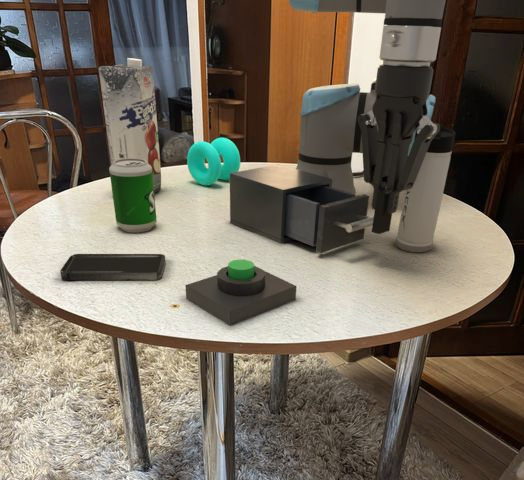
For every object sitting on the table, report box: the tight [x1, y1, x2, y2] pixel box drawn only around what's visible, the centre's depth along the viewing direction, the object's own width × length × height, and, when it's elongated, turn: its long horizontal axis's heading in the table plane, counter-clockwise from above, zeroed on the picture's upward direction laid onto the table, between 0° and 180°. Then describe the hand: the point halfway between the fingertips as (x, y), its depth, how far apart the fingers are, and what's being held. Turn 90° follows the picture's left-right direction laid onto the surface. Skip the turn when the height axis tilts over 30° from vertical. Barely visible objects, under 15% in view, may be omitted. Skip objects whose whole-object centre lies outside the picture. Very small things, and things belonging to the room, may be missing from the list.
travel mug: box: [395, 124, 456, 253], centre depth 87 cm, size 6×7×20 cm
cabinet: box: [229, 164, 332, 244], centre depth 97 cm, size 15×13×10 cm
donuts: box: [186, 137, 241, 186], centre depth 124 cm, size 10×10×10 cm
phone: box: [59, 253, 167, 281], centre depth 80 cm, size 8×1×15 cm
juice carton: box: [98, 57, 162, 194], centre depth 109 cm, size 9×10×27 cm
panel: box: [185, 265, 297, 326], centre depth 72 cm, size 12×10×4 cm
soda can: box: [108, 158, 158, 233], centre depth 94 cm, size 8×8×12 cm
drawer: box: [284, 185, 374, 254], centre depth 90 cm, size 18×11×8 cm, turn 42°
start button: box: [227, 258, 255, 280], centre depth 70 cm, size 4×4×2 cm
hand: (380, 231), depth 82 cm, fingers closed
